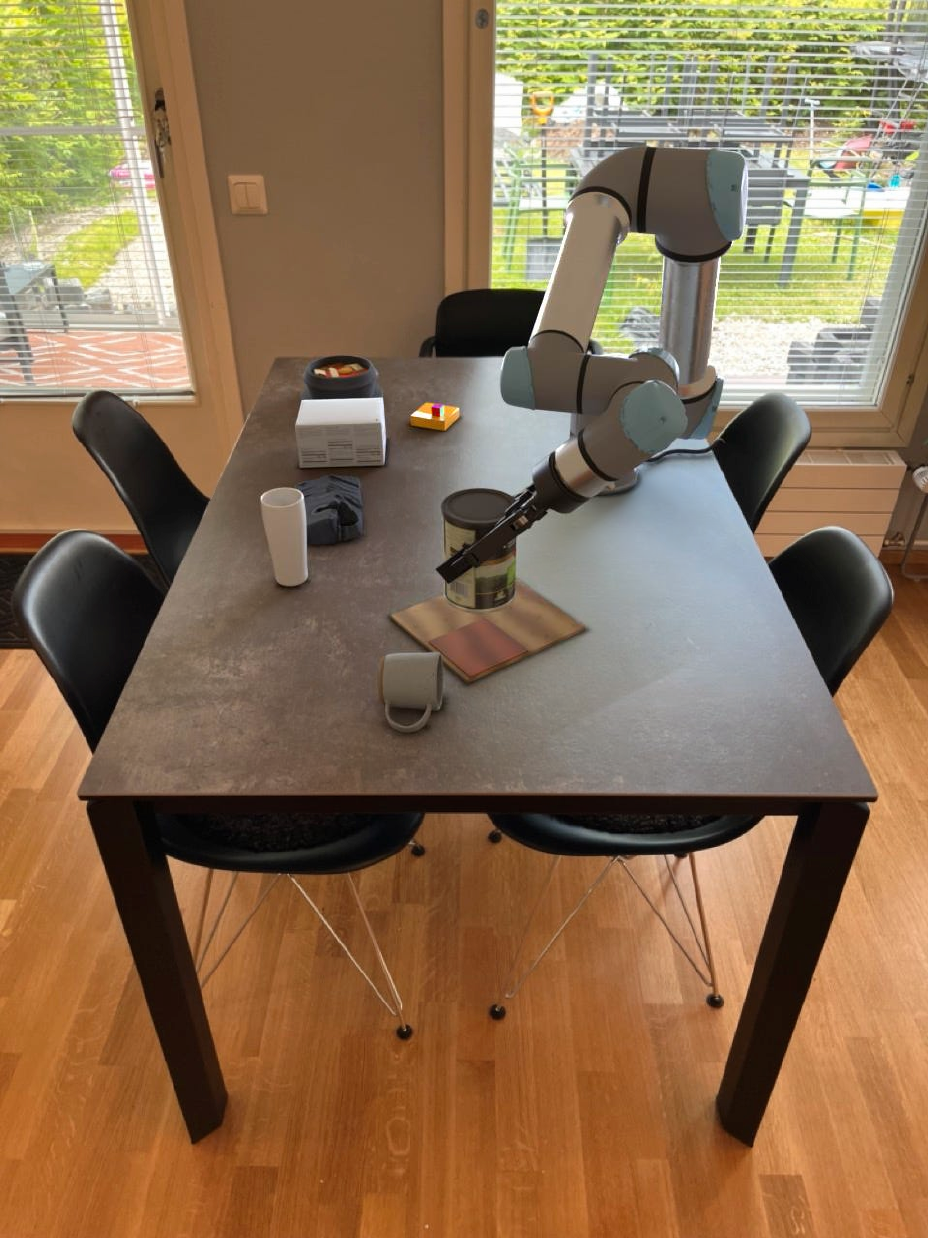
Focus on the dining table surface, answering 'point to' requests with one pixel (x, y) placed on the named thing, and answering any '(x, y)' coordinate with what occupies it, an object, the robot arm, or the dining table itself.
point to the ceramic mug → (411, 684)
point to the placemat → (487, 632)
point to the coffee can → (466, 523)
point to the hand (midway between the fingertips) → (459, 556)
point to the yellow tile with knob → (435, 416)
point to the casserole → (340, 379)
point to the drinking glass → (286, 534)
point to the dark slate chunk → (332, 509)
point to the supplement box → (341, 432)
